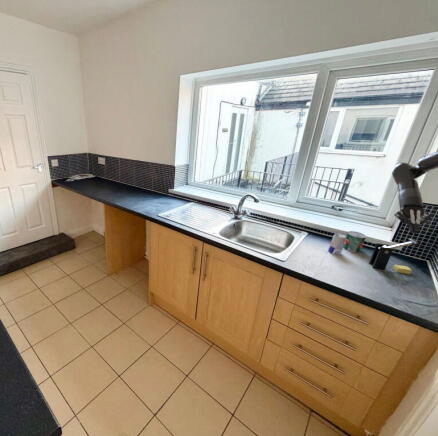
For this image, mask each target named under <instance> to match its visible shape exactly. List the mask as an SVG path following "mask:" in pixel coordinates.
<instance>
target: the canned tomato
mask: <svg viewBox="0 0 438 436" xmlns="http://www.w3.org/2000/svg"><path fill="white" fill-rule="evenodd" d="M345 236H346V240H345V243H344V246H343V248H342V249H344V250H345V251H348V252H352V253H360V252H361V251H362V248H363V245H364V243H365V240H366V238H367V235H366V234H364V233H362V232H358V231H353V230H351V231H347V233H346V235H345Z"/></svg>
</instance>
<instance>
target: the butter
mask: <svg viewBox="0 0 438 436" xmlns="http://www.w3.org/2000/svg"><path fill="white" fill-rule="evenodd" d="M392 269H393V270H394V271H395V272H396V273H401V274H406V275H411V273H412V271H413V270H412V269H411V268H410V267H409V266H407V265H400V264H393V267H392Z"/></svg>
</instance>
